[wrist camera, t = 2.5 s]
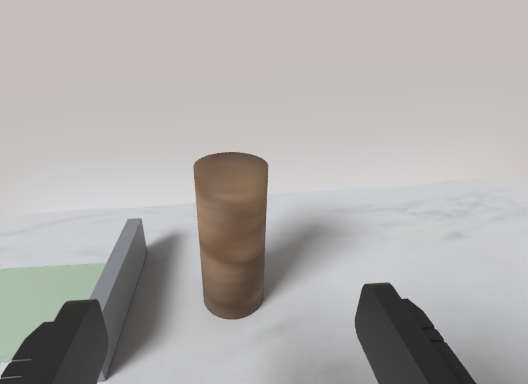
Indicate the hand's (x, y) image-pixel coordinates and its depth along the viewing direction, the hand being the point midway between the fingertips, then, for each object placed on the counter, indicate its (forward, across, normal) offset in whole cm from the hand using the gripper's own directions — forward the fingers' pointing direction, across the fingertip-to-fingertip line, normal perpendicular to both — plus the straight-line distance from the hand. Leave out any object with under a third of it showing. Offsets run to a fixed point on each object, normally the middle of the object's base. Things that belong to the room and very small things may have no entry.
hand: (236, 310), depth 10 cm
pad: (+13, +16, +12) cm, 24 cm away
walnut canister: (+13, 0, +12) cm, 18 cm away
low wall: (+13, +9, +12) cm, 20 cm away
